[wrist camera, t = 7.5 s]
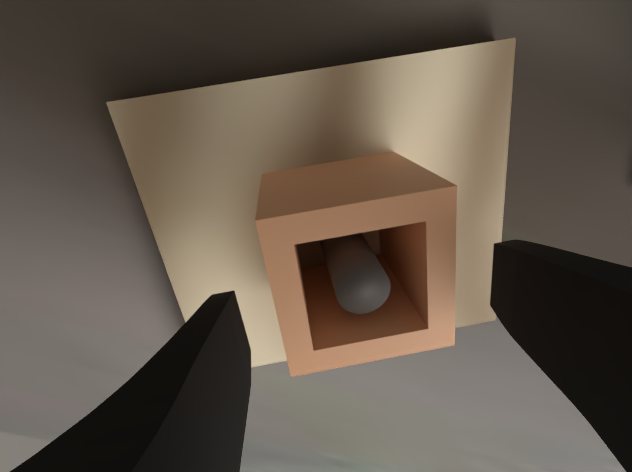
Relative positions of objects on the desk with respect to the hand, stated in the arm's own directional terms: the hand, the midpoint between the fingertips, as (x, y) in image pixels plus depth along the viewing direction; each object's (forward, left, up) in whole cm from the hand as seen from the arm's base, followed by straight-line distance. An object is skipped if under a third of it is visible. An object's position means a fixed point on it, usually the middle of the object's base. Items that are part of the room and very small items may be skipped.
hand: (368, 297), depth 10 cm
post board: (0, 0, -6) cm, 6 cm away
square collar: (0, 0, -5) cm, 5 cm away
